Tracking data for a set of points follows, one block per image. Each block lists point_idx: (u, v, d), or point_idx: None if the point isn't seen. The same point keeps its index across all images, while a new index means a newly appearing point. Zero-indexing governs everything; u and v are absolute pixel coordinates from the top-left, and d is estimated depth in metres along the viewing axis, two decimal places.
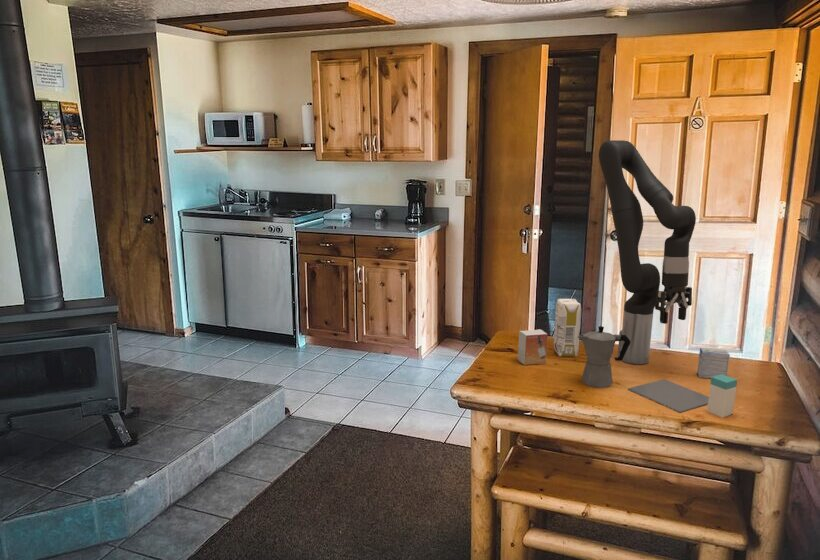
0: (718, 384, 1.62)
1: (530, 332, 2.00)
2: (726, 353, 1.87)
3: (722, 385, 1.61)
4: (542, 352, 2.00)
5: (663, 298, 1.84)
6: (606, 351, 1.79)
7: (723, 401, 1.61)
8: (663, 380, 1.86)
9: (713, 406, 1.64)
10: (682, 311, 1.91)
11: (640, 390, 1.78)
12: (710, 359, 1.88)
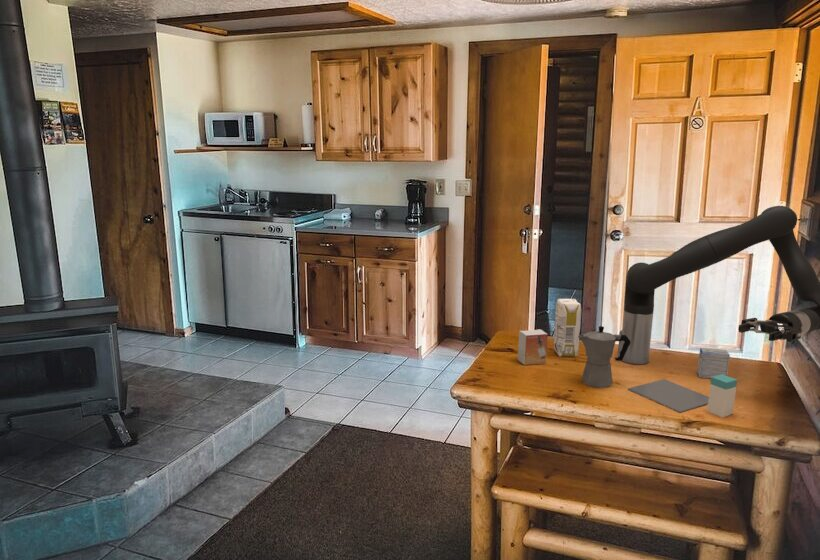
0: (718, 384, 1.62)
1: (530, 332, 2.00)
2: (726, 353, 1.87)
3: (722, 385, 1.61)
4: (542, 352, 2.00)
5: None
6: (606, 351, 1.79)
7: (723, 401, 1.61)
8: (663, 380, 1.86)
9: (713, 406, 1.64)
10: (747, 329, 1.70)
11: (640, 390, 1.78)
12: (710, 359, 1.88)
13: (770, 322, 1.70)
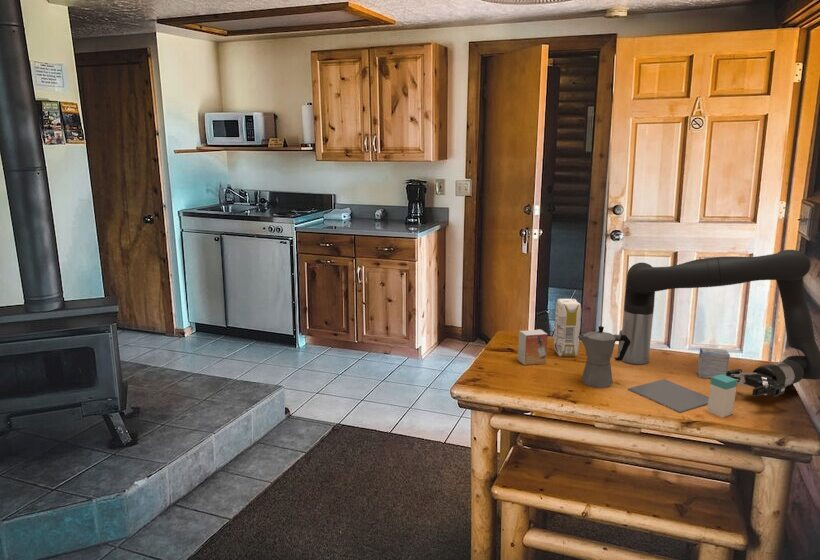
0: (718, 384, 1.62)
1: (530, 332, 2.00)
2: (726, 353, 1.87)
3: (722, 385, 1.61)
4: (542, 353, 2.00)
5: None
6: (606, 351, 1.79)
7: (723, 401, 1.61)
8: (663, 380, 1.86)
9: (713, 406, 1.64)
10: None
11: (640, 390, 1.78)
12: (710, 359, 1.88)
13: (754, 375, 1.72)
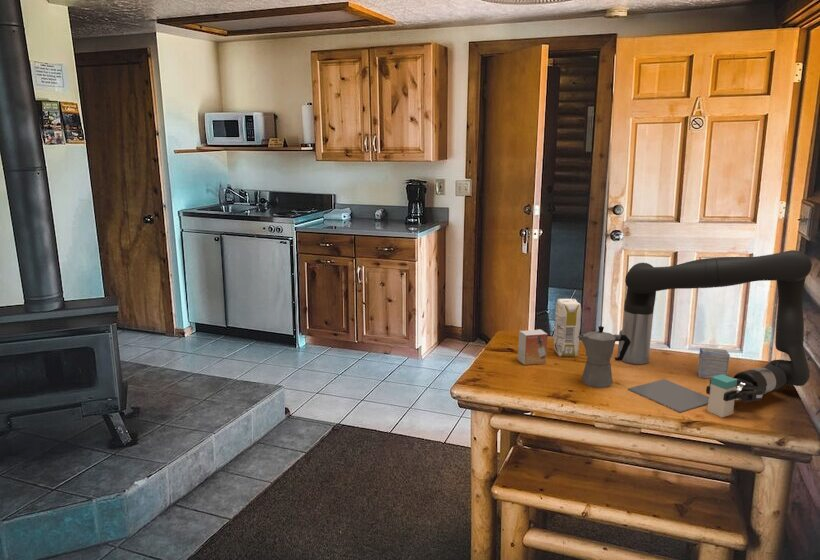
0: (718, 384, 1.62)
1: (530, 332, 2.00)
2: (726, 353, 1.87)
3: (722, 385, 1.61)
4: (542, 352, 2.00)
5: None
6: (606, 351, 1.79)
7: (723, 401, 1.61)
8: (663, 380, 1.86)
9: (713, 406, 1.64)
10: None
11: (640, 390, 1.78)
12: (710, 359, 1.88)
13: None
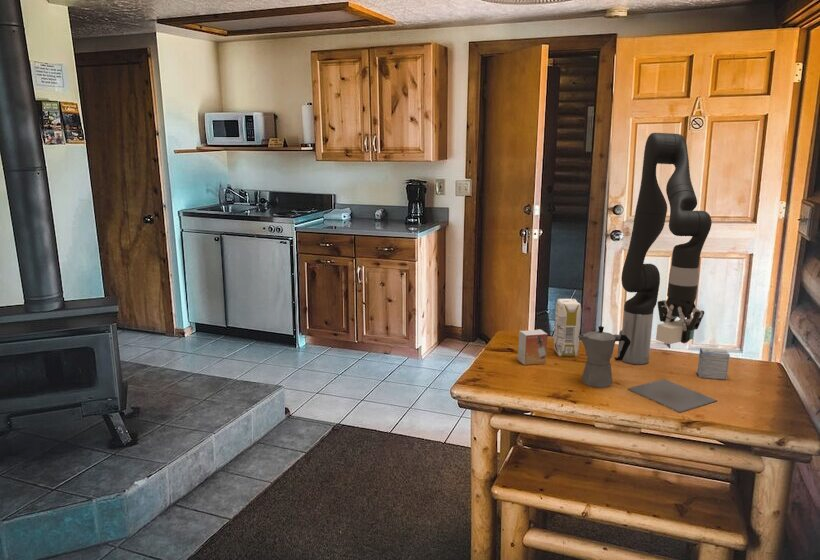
0: None
1: (530, 332, 2.00)
2: (726, 353, 1.87)
3: None
4: (542, 352, 2.00)
5: (659, 308, 1.75)
6: (606, 351, 1.79)
7: None
8: (663, 380, 1.86)
9: None
10: None
11: (640, 390, 1.78)
12: (710, 359, 1.88)
13: None
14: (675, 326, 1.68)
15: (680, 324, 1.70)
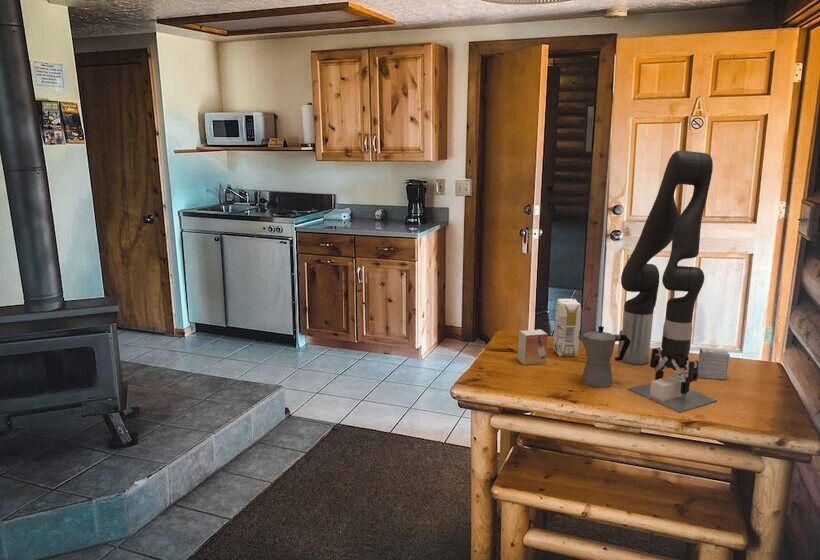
0: None
1: (530, 332, 2.00)
2: (726, 353, 1.87)
3: None
4: (542, 352, 2.00)
5: (652, 355, 1.78)
6: (606, 351, 1.79)
7: None
8: None
9: None
10: None
11: (640, 390, 1.78)
12: (710, 359, 1.88)
13: None
14: (668, 383, 1.72)
15: (673, 381, 1.74)
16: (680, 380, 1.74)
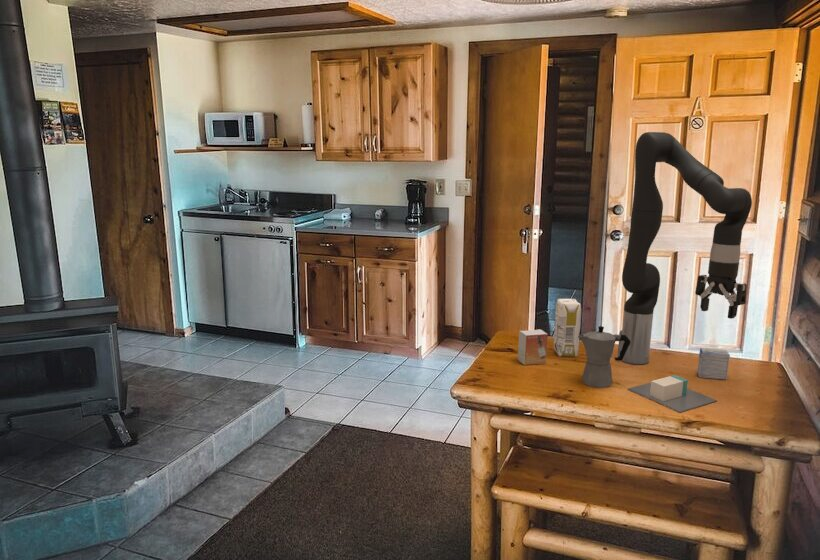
0: None
1: (530, 332, 2.00)
2: (726, 353, 1.87)
3: None
4: (542, 352, 2.00)
5: (698, 282, 1.77)
6: (606, 351, 1.79)
7: None
8: None
9: None
10: None
11: (640, 390, 1.78)
12: (710, 359, 1.88)
13: None
14: (668, 383, 1.72)
15: (673, 381, 1.74)
16: (680, 380, 1.74)
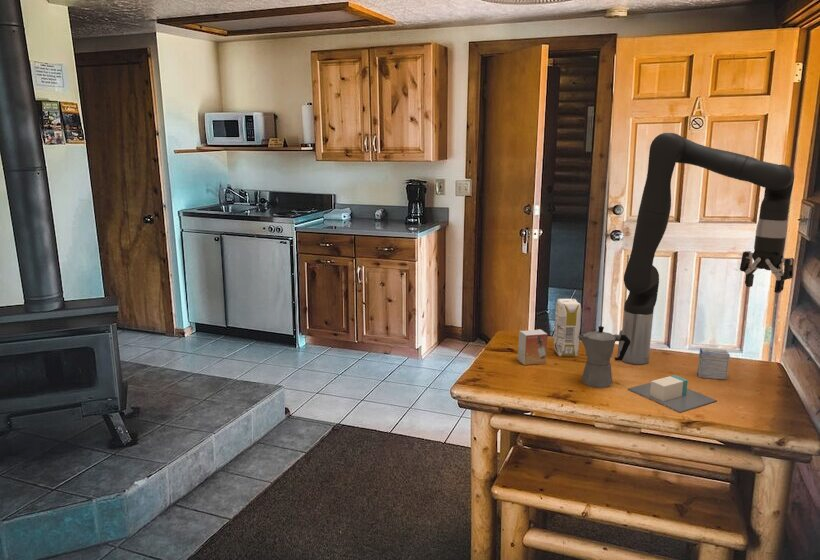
0: None
1: (530, 332, 2.00)
2: (726, 353, 1.87)
3: None
4: (542, 352, 2.00)
5: (743, 258, 1.81)
6: (606, 351, 1.79)
7: None
8: None
9: None
10: None
11: (640, 390, 1.78)
12: (710, 359, 1.88)
13: None
14: (668, 383, 1.72)
15: (673, 381, 1.74)
16: (680, 380, 1.74)
